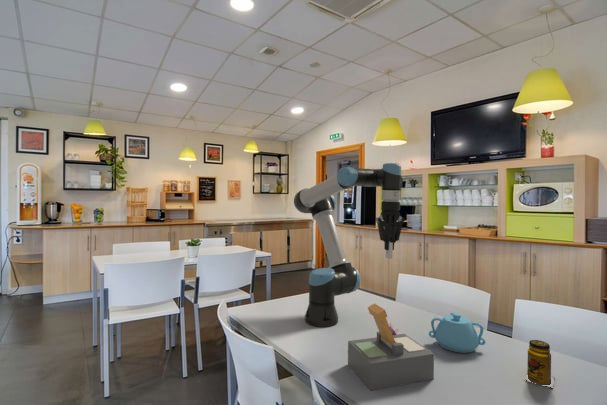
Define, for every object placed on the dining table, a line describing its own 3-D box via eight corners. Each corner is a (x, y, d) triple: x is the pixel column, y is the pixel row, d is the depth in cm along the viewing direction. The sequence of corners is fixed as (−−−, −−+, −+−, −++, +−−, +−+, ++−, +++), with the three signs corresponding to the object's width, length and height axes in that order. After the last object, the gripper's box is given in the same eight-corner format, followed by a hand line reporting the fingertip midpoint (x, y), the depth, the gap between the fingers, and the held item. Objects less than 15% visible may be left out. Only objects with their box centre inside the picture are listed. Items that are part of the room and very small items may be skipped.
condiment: (524, 381, 105) (524, 343, 105) (527, 370, 111) (528, 334, 111) (553, 390, 100) (553, 350, 100) (555, 378, 106) (555, 341, 106)
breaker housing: (403, 355, 121) (404, 325, 120) (433, 379, 105) (434, 344, 105) (347, 364, 114) (348, 332, 114) (370, 390, 99) (371, 353, 99)
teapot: (428, 351, 124) (429, 317, 124) (428, 331, 143) (428, 301, 143) (488, 360, 118) (489, 325, 117) (480, 338, 136) (480, 307, 136)
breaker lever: (388, 339, 113) (374, 303, 111) (400, 348, 107) (385, 310, 105) (381, 343, 113) (367, 307, 111) (393, 352, 106) (377, 314, 104)
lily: (394, 355, 123) (408, 332, 123) (368, 335, 130) (381, 313, 130) (402, 353, 133) (415, 332, 133) (378, 334, 140) (389, 314, 140)
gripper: (381, 201, 133) (379, 260, 133) (409, 201, 137) (407, 259, 137) (372, 200, 140) (370, 256, 140) (399, 201, 144) (397, 255, 145)
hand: (388, 257), depth 139 cm, fingers closed
